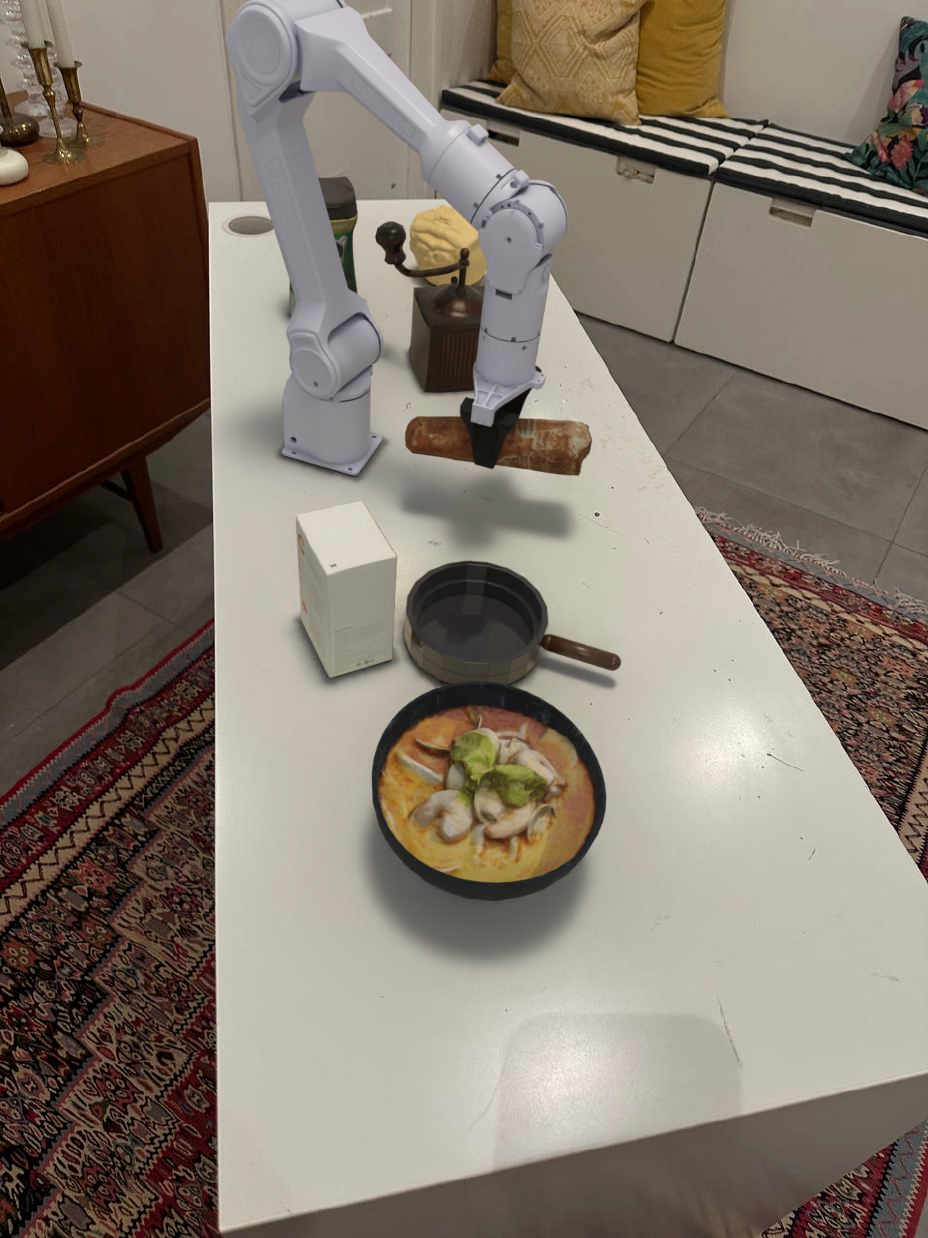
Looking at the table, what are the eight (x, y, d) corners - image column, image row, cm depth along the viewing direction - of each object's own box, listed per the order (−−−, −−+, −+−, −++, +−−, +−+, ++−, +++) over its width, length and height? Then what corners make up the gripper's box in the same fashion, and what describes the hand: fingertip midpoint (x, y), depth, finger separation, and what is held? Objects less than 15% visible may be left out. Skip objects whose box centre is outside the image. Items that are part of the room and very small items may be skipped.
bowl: (417, 977, 61) (426, 915, 53) (340, 780, 71) (339, 705, 64) (624, 895, 66) (657, 829, 59) (525, 724, 77) (543, 649, 70)
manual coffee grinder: (479, 346, 122) (495, 214, 109) (501, 389, 114) (520, 254, 101) (370, 351, 118) (372, 215, 105) (385, 395, 111) (389, 256, 98)
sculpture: (396, 279, 133) (399, 207, 125) (442, 255, 140) (447, 185, 132) (457, 305, 129) (464, 232, 121) (501, 279, 136) (510, 208, 129)
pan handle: (537, 651, 80) (540, 640, 79) (542, 639, 82) (544, 628, 80) (617, 676, 79) (620, 665, 78) (620, 664, 80) (624, 652, 79)
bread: (582, 489, 90) (593, 444, 86) (400, 463, 90) (402, 417, 86) (583, 454, 94) (593, 409, 90) (409, 429, 94) (412, 383, 90)
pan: (383, 665, 80) (384, 636, 77) (432, 575, 89) (435, 546, 86) (519, 710, 78) (526, 681, 75) (556, 612, 87) (563, 584, 84)
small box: (393, 660, 80) (399, 556, 71) (328, 680, 78) (325, 575, 69) (361, 602, 85) (363, 497, 76) (299, 618, 83) (292, 513, 74)
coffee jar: (351, 301, 127) (351, 166, 114) (363, 328, 122) (364, 190, 108) (284, 305, 124) (276, 167, 111) (294, 332, 119) (286, 192, 106)
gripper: (531, 374, 75) (511, 497, 85) (570, 303, 85) (547, 421, 95) (455, 354, 76) (443, 478, 86) (501, 287, 86) (486, 405, 96)
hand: (493, 447), depth 91 cm, fingers closed on bread, 6 cm apart
